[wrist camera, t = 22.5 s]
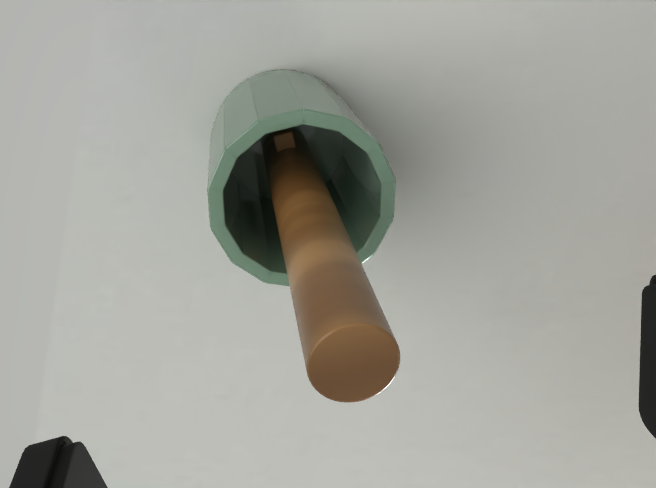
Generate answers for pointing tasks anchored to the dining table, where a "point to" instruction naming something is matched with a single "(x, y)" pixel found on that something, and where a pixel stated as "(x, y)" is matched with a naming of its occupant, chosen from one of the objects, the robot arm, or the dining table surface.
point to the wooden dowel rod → (327, 280)
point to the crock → (328, 152)
